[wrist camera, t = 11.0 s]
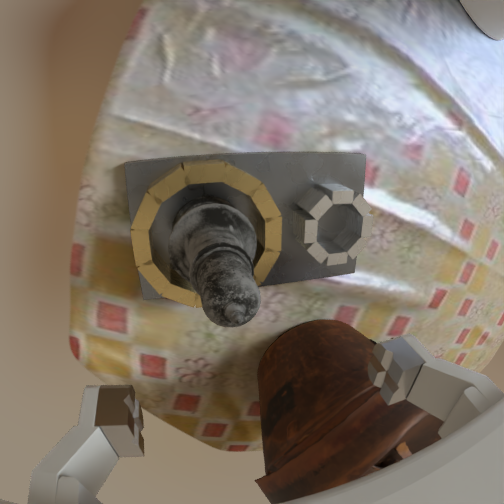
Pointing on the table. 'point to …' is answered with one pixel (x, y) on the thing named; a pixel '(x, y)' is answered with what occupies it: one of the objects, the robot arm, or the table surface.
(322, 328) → the case
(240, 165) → the socket plate
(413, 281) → the table surface
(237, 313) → the stone chess piece
